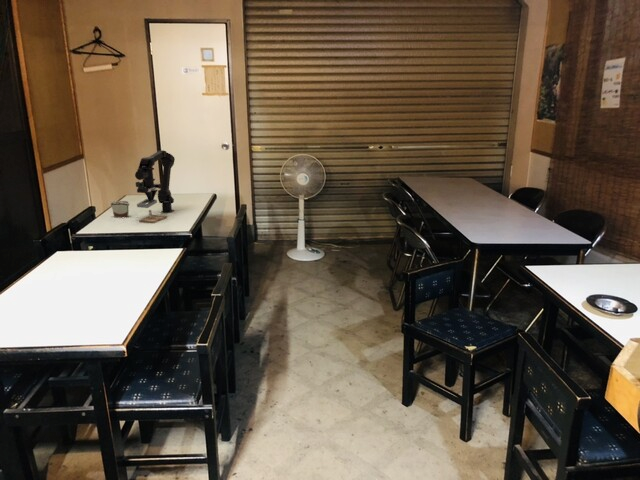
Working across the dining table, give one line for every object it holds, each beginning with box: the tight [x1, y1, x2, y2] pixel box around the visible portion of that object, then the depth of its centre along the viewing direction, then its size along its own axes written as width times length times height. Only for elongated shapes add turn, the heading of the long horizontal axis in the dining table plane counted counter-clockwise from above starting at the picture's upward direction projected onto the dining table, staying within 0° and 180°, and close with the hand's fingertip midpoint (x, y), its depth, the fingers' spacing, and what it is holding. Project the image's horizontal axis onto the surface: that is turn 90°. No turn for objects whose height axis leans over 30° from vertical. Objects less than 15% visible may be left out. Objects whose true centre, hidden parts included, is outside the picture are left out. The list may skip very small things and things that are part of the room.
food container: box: [110, 200, 130, 218], centre depth 332 cm, size 12×6×10 cm, turn 84°
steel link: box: [136, 198, 158, 209], centre depth 322 cm, size 10×8×2 cm
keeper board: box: [138, 209, 167, 224], centre depth 322 cm, size 14×11×7 cm
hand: (151, 201), depth 325 cm, fingers closed on steel link, 2 cm apart
